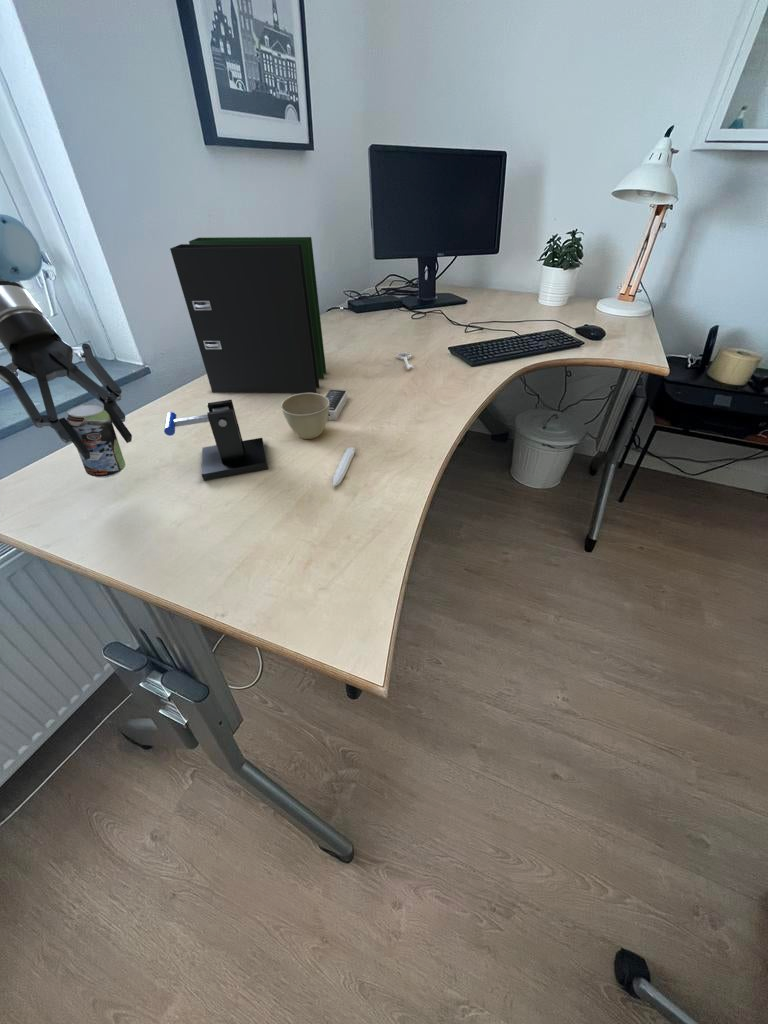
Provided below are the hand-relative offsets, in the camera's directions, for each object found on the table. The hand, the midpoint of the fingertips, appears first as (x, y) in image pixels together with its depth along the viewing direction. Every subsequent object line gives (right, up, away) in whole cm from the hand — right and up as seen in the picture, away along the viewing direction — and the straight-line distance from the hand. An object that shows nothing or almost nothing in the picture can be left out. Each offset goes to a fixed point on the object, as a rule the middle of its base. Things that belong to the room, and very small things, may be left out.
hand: (108, 447), depth 71 cm
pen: (+38, -3, +12) cm, 40 cm away
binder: (+15, +24, +44) cm, 52 cm away
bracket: (+16, -1, +15) cm, 22 cm away
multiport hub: (+33, +14, +32) cm, 48 cm away
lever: (+11, +5, +8) cm, 15 cm away
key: (+52, +32, +53) cm, 80 cm away
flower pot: (+29, +6, +23) cm, 38 cm away
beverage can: (-3, -3, +6) cm, 7 cm away
